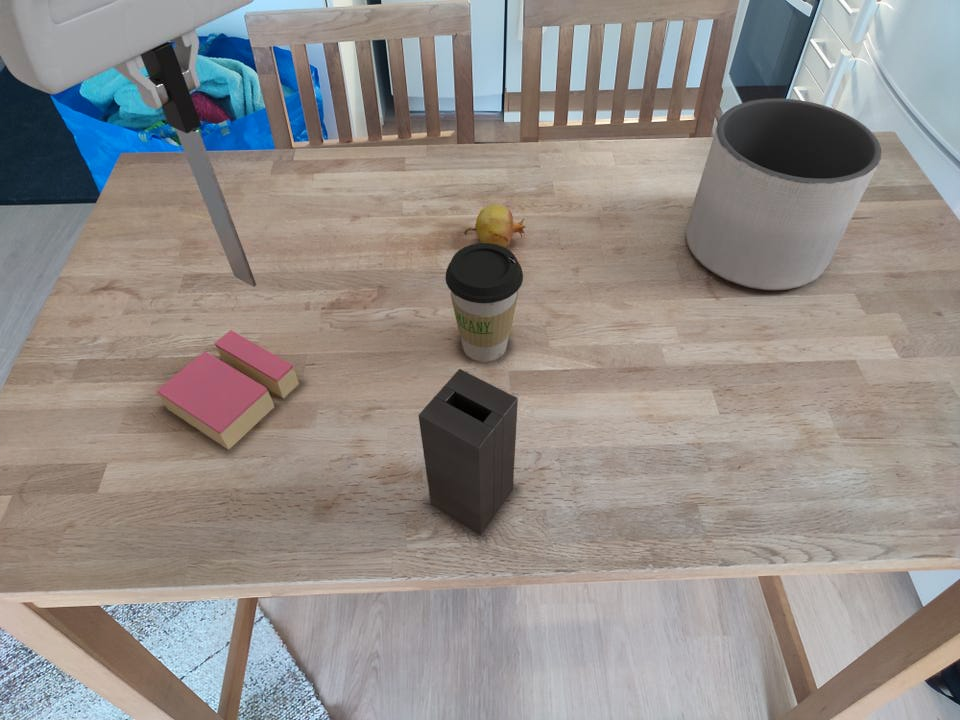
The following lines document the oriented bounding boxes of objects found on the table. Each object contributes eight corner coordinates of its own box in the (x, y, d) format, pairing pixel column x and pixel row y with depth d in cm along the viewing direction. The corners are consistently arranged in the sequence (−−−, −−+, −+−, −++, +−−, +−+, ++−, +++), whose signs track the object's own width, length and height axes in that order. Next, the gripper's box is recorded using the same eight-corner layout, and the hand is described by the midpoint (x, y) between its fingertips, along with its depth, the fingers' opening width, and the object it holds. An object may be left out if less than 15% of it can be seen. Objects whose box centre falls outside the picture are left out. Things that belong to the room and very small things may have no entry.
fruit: (461, 229, 101) (527, 230, 100) (464, 194, 104) (527, 194, 104) (464, 256, 107) (526, 256, 107) (466, 222, 110) (526, 222, 110)
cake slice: (283, 398, 87) (276, 379, 84) (223, 362, 92) (214, 343, 89) (299, 383, 89) (292, 364, 86) (239, 349, 93) (230, 329, 90)
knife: (249, 290, 69) (157, 51, 50) (230, 279, 70) (132, 42, 51) (260, 281, 70) (174, 43, 51) (241, 271, 71) (149, 34, 52)
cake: (228, 450, 82) (218, 431, 79) (167, 409, 86) (155, 390, 83) (274, 406, 86) (267, 388, 83) (214, 370, 91) (204, 350, 88)
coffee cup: (443, 327, 96) (437, 246, 84) (508, 315, 97) (511, 234, 86) (458, 378, 89) (454, 298, 78) (527, 364, 91) (533, 284, 79)
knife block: (480, 536, 74) (478, 448, 61) (430, 505, 77) (418, 415, 63) (513, 490, 78) (518, 398, 64) (464, 462, 81) (459, 368, 67)
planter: (690, 291, 100) (726, 178, 85) (677, 204, 114) (706, 93, 99) (841, 301, 98) (906, 187, 83) (809, 211, 112) (859, 99, 97)
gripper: (189, -144, 50) (241, 39, 61) (-80, -65, 40) (40, 141, 50) (246, -132, 48) (290, 56, 59) (-24, -45, 37) (90, 167, 48)
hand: (173, 96), depth 54 cm, fingers closed on knife, 2 cm apart
